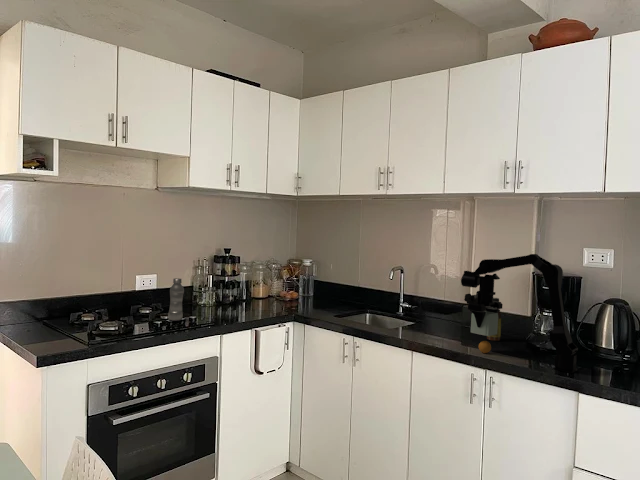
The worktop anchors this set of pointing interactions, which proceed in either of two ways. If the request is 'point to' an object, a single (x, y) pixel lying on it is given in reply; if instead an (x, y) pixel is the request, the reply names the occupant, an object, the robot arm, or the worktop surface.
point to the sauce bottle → (498, 335)
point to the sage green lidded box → (485, 324)
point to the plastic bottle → (176, 300)
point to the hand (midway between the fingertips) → (483, 326)
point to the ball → (484, 346)
